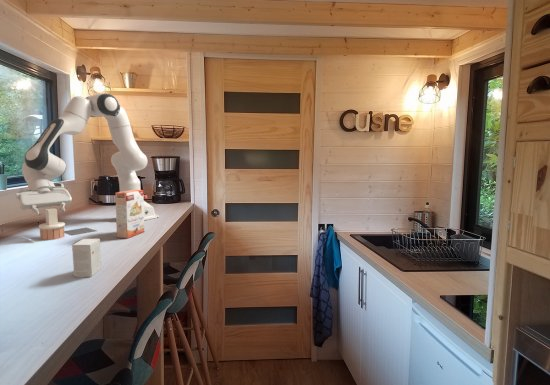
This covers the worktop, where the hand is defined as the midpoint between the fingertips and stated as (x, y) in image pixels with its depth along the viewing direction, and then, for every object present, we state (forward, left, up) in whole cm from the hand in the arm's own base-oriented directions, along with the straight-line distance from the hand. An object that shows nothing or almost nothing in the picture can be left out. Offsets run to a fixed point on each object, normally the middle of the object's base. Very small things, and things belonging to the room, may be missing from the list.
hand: (51, 213), depth 158 cm
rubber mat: (-13, -4, -12) cm, 18 cm away
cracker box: (-26, +20, -12) cm, 35 cm away
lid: (0, -1, -6) cm, 6 cm away
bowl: (0, -1, -12) cm, 12 cm away
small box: (+11, +57, -12) cm, 59 cm away
